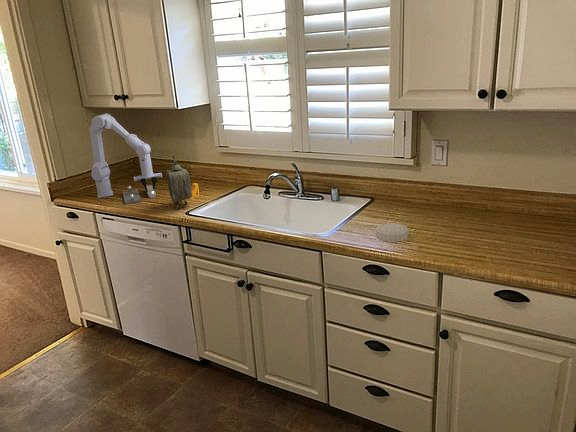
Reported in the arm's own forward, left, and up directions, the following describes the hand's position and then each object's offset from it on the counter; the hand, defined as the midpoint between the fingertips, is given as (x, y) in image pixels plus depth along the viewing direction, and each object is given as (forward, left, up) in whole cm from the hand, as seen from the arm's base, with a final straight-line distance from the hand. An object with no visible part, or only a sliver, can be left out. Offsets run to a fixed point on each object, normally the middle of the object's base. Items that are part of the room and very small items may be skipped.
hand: (150, 191), depth 253 cm
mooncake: (+114, +77, -2) cm, 138 cm away
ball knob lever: (0, 0, -1) cm, 1 cm away
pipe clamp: (+19, +17, -2) cm, 26 cm away
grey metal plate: (0, -10, -1) cm, 10 cm away
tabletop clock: (+30, +12, -2) cm, 32 cm away
